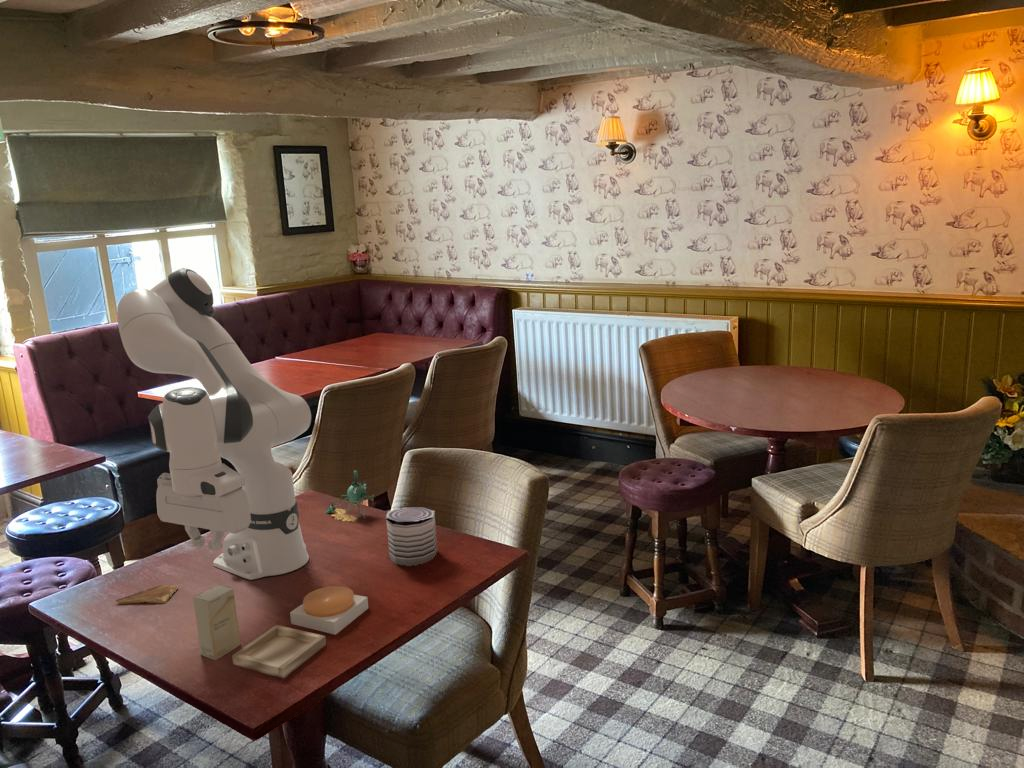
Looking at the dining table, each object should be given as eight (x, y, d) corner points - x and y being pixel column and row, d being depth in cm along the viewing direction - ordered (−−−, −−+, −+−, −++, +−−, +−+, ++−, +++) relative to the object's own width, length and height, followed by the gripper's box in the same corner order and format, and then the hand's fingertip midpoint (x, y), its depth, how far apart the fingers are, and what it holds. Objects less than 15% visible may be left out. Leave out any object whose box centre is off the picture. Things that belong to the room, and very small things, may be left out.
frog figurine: (339, 510, 227) (344, 459, 225) (390, 529, 219) (396, 477, 216) (315, 518, 219) (320, 465, 216) (367, 539, 211) (373, 484, 208)
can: (379, 562, 193) (375, 514, 190) (415, 545, 201) (411, 499, 199) (412, 575, 186) (408, 525, 183) (448, 557, 194) (444, 509, 191)
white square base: (291, 626, 165) (289, 612, 164) (326, 601, 175) (324, 588, 174) (335, 636, 160) (334, 622, 160) (368, 610, 170) (367, 597, 169)
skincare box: (215, 661, 153) (207, 602, 151) (199, 656, 156) (191, 597, 153) (242, 645, 159) (234, 587, 156) (226, 640, 161) (218, 583, 158)
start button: (293, 611, 165) (292, 604, 164) (325, 589, 173) (324, 582, 173) (333, 620, 160) (332, 612, 160) (363, 597, 169) (363, 590, 169)
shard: (116, 606, 176) (115, 599, 175) (133, 590, 183) (133, 583, 183) (165, 607, 175) (164, 599, 175) (181, 590, 183) (180, 583, 182)
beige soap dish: (233, 665, 152) (232, 655, 151) (277, 633, 162) (276, 624, 162) (283, 678, 147) (282, 668, 146) (326, 645, 157) (325, 636, 157)
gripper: (142, 477, 151) (153, 546, 154) (225, 488, 142) (235, 562, 145) (170, 466, 157) (180, 534, 160) (251, 477, 148) (260, 548, 151)
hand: (207, 548), depth 152 cm, fingers open, 3 cm apart
